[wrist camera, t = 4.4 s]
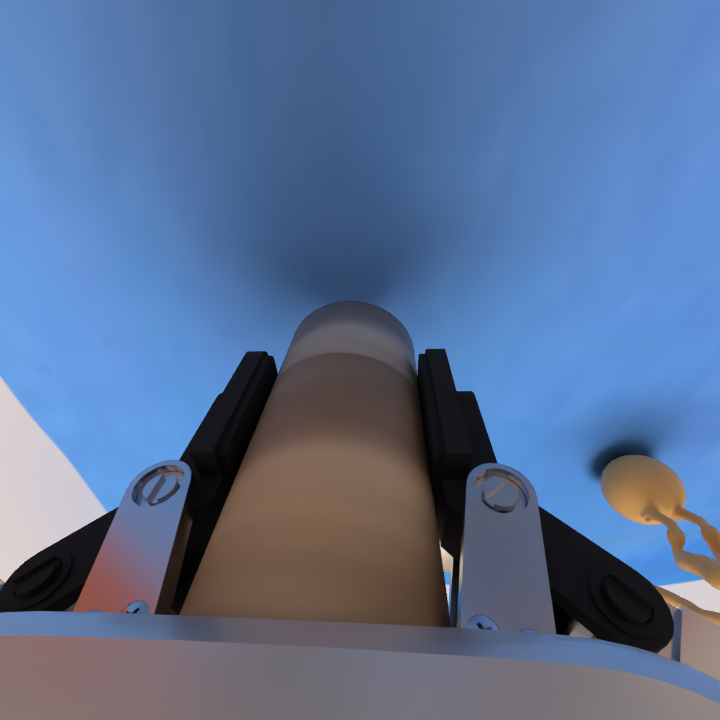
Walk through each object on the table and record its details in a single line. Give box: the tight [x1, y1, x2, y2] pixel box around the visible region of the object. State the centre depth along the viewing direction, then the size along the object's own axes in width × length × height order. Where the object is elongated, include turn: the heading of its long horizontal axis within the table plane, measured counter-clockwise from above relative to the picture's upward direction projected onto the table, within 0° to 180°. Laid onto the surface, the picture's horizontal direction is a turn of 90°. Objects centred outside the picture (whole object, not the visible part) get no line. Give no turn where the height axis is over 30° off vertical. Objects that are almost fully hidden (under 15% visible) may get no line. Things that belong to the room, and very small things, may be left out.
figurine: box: [601, 455, 720, 625], centre depth 17 cm, size 8×6×12 cm
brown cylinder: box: [179, 301, 451, 628], centre depth 9 cm, size 4×4×9 cm
